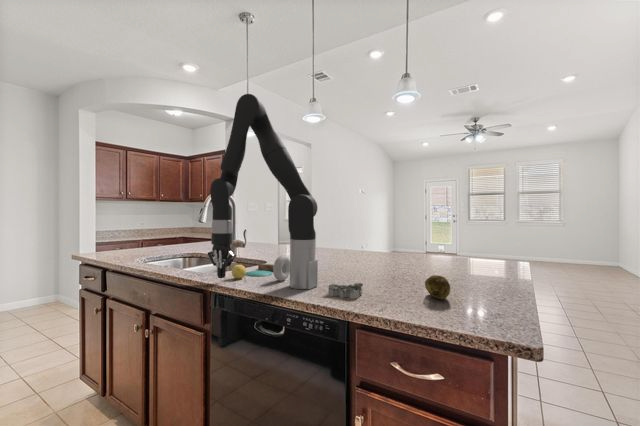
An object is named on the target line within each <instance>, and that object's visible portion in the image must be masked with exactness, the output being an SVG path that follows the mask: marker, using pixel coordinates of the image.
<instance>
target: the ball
mask: <svg viewBox="0 0 640 426" xmlns="http://www.w3.org/2000/svg"><path fill="white" fill-rule="evenodd" d="M246 269H247V268H246V267H245V266H244V265H243V264H236V265H234V266H233V267H232V269H231V275H232V277H233V278H234V279H237V280H239V279H240V280H241V279H243V278H244V277H245V276H246V275H245V274H246V272H247V270H246Z"/></svg>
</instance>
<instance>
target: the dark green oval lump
mask: <svg viewBox="0 0 640 426" xmlns="http://www.w3.org/2000/svg"><path fill="white" fill-rule="evenodd" d="M424 285H425V290H426V291H427V292H428V294H430V295H431V296H432V297H433V298H435V299H438V300H445V299H447V298H448V296H449V295H450V294H451V285H450V283H449V281H448V280H447V278H446V277H444V276H441V275H435V274H433V275H431V276H429V277H428V278H426V279H425V281H424Z"/></svg>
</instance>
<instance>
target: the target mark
mask: <svg viewBox="0 0 640 426" xmlns="http://www.w3.org/2000/svg"><path fill="white" fill-rule="evenodd" d="M271 275H273V271H268V270H250V271H246V274H245V276H247V277H268V276H271Z"/></svg>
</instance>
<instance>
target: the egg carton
mask: <svg viewBox="0 0 640 426" xmlns="http://www.w3.org/2000/svg"><path fill="white" fill-rule="evenodd" d="M363 286H364V284H363V283H362V282H361V283H360V282H355V283H353V284H349V285H346V284H340V285H338V283H337V284H336V283H332V284H329V285H327V287H328V288H327V289H328V294H330V295H329V296H330V297H335V296H334V295H338V296H337V297H339V298H342V297H343V298H349V297H350V298H355V299H359V298H358V297H360V296H359V295H362V296H363V289H362V287H363ZM350 298H349V299H350Z"/></svg>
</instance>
